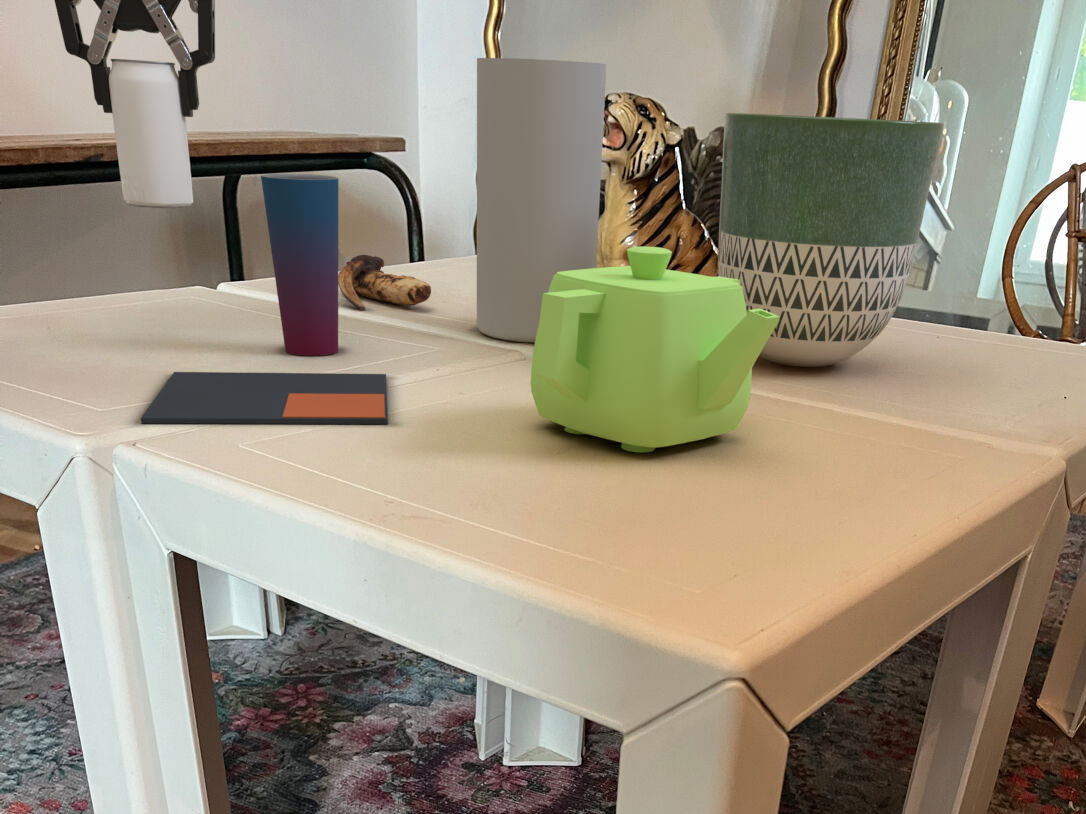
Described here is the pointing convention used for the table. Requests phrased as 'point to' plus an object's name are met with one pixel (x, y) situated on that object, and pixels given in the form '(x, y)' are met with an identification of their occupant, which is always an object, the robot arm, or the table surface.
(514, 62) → the cylinder vase
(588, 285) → the teapot
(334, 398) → the mat
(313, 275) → the cup
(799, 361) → the planter
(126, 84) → the can
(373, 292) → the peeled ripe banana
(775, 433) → the table surface
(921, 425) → the table surface
